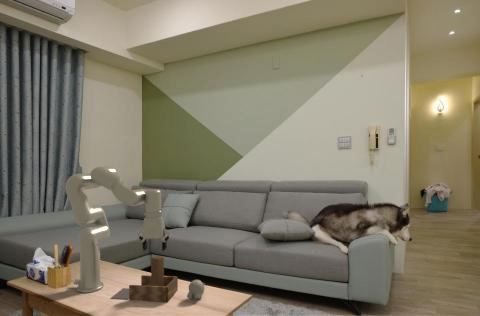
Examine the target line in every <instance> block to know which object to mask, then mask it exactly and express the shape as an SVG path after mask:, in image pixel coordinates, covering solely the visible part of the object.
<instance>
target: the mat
mask: <svg viewBox="0 0 480 316" xmlns="http://www.w3.org/2000/svg"><path fill="white" fill-rule="evenodd" d="M113 299H114V300H127V301H129V287H128V288H126V287H124V288H122V289H120V290H119V291H118V292H117V293H115V294H114V295H113V296H111V297H110V300H113Z"/></svg>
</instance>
